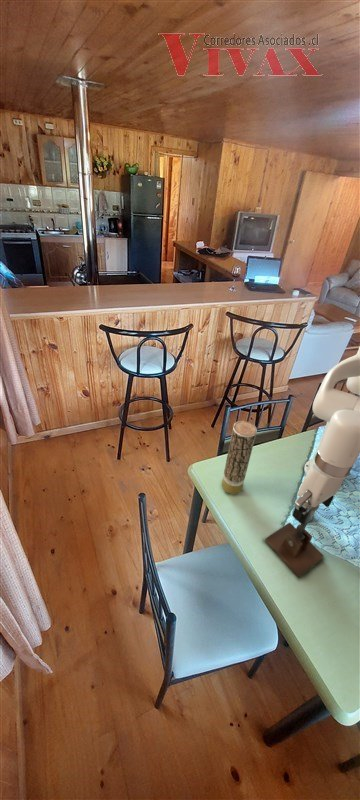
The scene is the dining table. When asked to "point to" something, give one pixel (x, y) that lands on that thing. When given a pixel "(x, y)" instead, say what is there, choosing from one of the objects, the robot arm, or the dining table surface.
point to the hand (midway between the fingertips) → (310, 511)
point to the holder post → (299, 533)
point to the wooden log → (238, 456)
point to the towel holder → (294, 549)
